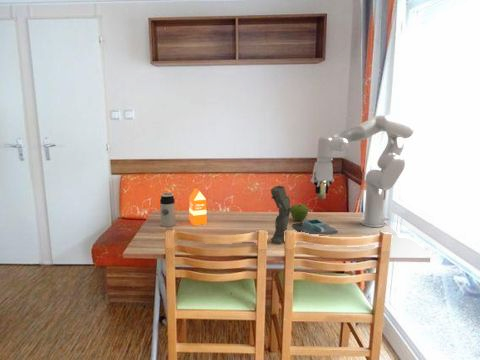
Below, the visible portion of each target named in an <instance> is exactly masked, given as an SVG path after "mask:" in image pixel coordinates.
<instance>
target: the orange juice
mask: <svg viewBox="0 0 480 360" xmlns="http://www.w3.org/2000/svg"><path fill="white" fill-rule="evenodd" d="M188 200H189V201H188V204H189V205H188V206H189V207H188V208H189V213H188V214H189V222H190V223H191V224H192V226H194V225H196V226H200V225H201V224H203V225H207V223H208V222H207V198H206V197H205V196H204V195H203V193H202V192H201V190H199V189H198V188H196V187H195V188H194V189H193V191H192V193H191V194H190V196H189V197H188Z"/></svg>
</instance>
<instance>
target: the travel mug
mask: <svg viewBox="0 0 480 360" xmlns="http://www.w3.org/2000/svg"><path fill="white" fill-rule="evenodd" d="M174 195H175V193H172V192H164V193H161V194H160V200H159V203H160V225H161V227H165V228H168V227H169V228H171V227H174V226H175V225H176V205H175V204H176V202H175V198H174V197H175V196H174Z"/></svg>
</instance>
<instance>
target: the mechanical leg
mask: <svg viewBox="0 0 480 360" xmlns="http://www.w3.org/2000/svg"><path fill="white" fill-rule="evenodd" d="M270 192H271V198H272V199H273V201H274V203H275V204H276V207H277V209H278V215H277V216H276V218H275V220H274V222H275V231H274V234H273V235H272V237H271V239H270V243H272V244H276V245H282V244H284V231H285V230H287V231H288V226H289V225H288V224H289V221H290V214H291V213H290V209H291V199H290V196H289V195H287V192H286V188H285V187H284V186H283V185H276V186H274V187H273V188H271V189H270Z"/></svg>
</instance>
